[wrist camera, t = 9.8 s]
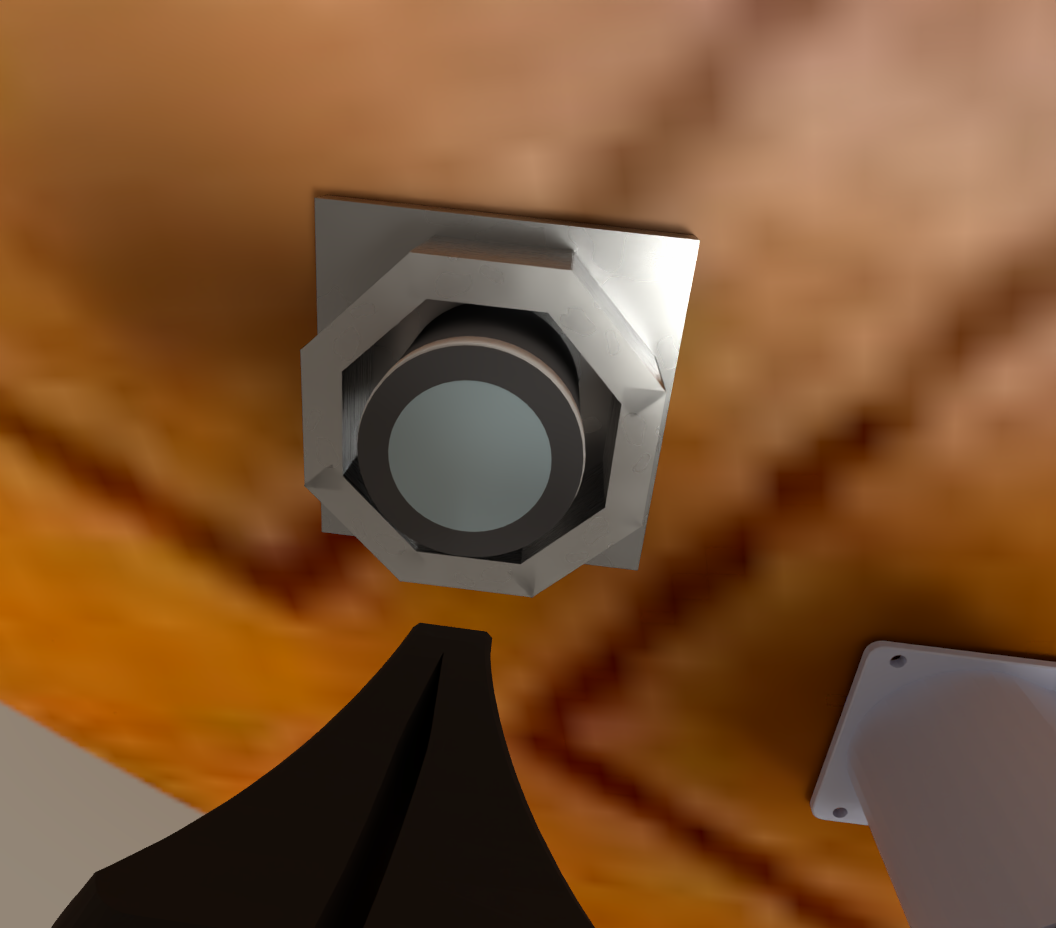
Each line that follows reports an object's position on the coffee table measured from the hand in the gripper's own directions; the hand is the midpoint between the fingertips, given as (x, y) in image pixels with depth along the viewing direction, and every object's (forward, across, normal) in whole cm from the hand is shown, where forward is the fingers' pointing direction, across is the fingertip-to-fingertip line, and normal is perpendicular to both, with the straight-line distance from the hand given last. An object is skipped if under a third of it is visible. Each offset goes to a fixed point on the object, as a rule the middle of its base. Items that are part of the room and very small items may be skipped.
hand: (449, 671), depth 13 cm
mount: (+10, +1, -2) cm, 10 cm away
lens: (+9, +1, -2) cm, 9 cm away
